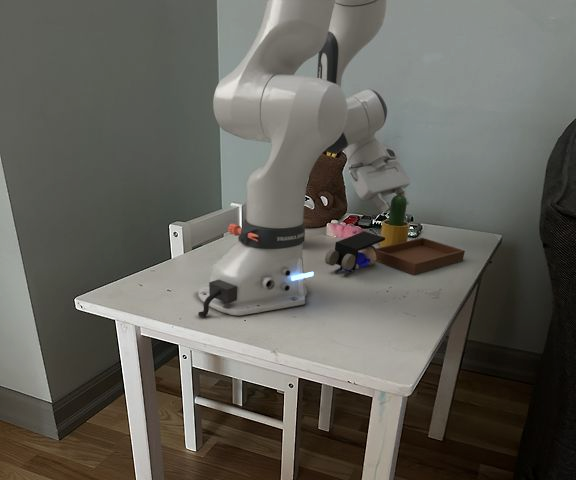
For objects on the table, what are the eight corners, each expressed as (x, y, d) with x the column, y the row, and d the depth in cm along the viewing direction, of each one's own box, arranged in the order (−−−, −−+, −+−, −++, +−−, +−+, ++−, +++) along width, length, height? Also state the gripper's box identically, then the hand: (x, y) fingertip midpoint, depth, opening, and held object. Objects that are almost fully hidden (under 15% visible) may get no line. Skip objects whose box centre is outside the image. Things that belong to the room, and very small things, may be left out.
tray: (413, 275, 126) (415, 264, 124) (371, 259, 134) (372, 249, 133) (462, 260, 136) (465, 250, 135) (420, 247, 145) (422, 237, 144)
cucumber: (393, 246, 142) (401, 194, 136) (382, 242, 145) (389, 191, 138) (403, 244, 144) (411, 192, 138) (392, 240, 147) (399, 189, 140)
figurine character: (347, 286, 121) (384, 264, 130) (348, 254, 116) (386, 233, 126) (323, 279, 125) (360, 258, 134) (323, 247, 120) (362, 227, 129)
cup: (394, 251, 141) (397, 227, 138) (373, 244, 145) (376, 221, 142) (411, 247, 145) (415, 224, 142) (391, 240, 149) (394, 218, 146)
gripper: (354, 157, 131) (384, 206, 131) (398, 150, 145) (424, 195, 145) (337, 174, 136) (366, 221, 136) (381, 165, 149) (407, 209, 149)
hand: (397, 207), depth 140 cm, fingers open, 8 cm apart
